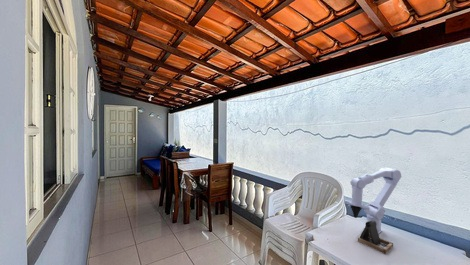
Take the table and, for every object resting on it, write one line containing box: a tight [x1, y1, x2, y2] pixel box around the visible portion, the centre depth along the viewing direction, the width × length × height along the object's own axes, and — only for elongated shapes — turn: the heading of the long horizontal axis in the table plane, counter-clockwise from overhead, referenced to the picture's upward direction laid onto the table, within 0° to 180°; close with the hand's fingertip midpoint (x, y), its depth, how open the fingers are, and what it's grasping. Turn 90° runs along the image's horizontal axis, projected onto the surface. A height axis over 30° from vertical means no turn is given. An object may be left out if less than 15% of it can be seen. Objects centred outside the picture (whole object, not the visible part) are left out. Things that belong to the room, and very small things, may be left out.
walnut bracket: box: [357, 234, 394, 255], centre depth 113 cm, size 12×14×2 cm
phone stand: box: [358, 220, 382, 246], centre depth 116 cm, size 9×6×12 cm, turn 25°
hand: (355, 217), depth 126 cm, fingers closed
